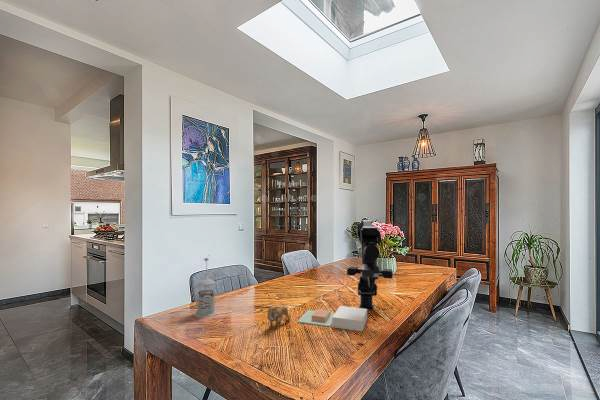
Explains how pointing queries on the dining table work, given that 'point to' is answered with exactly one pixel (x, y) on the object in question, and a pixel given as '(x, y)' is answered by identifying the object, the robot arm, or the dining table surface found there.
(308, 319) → the mat
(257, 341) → the dining table surface
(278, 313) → the lion figurine
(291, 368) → the dining table surface
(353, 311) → the board
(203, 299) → the french press
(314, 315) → the tile
